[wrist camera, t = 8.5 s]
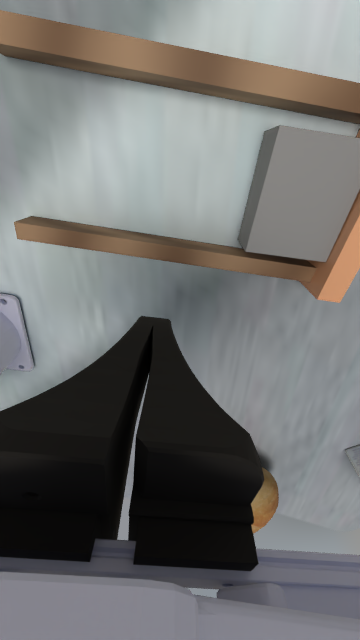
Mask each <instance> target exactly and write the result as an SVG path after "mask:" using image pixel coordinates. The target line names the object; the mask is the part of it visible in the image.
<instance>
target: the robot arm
mask: <svg viewBox="0 0 360 640" xmlns="http://www.w3.org/2000/svg"><path fill="white" fill-rule="evenodd" d="M3 299H5V300H6V301H7V302H5V301H4V300H3ZM33 368H34V363H33V359H32V354H31V350H30V346H29V341H28V337H27V333H26V329H25V324H24V320H23V316H22V312H21V307H20V303H19V300H18V299H17V298H16V297H15V296H13V295H7V294H0V375H1V374H2V372H3V371H4V370H5V369H13V370H22V371H32V369H33ZM148 374H149V379H148V384H147V389H146V394H145V398H144V403H143V408H142V412H141V417H140V421H139V426H138V430H137V434H136V445H135V463H134V482H133V490H132V496H131V503H130V509H129V538H128V541H127V540H117V537H118V529H119V524H120V517H121V511H122V504H123V498H124V492H125V486H126V479H127V473H128V467H129V461H130V455H131V449H132V443H133V437H134V431H135V425H136V420H137V416H138V412H139V408H140V404H141V401H142V397H143V393H144V390H145V386H146V382H147V378H148ZM263 482H264V475H263V470H262V465H261V462H260V459H259V456H258V453H257V451H256V448H255V446H254V443H253V441H252V438H251V436H250V434H249V433H248V432H247V431H246V430H245V429H243V428H242V427H241V426H240V425H239V424H238V423H237V422H236V421H234V420H233V419H232V418H231V417H230V416H229V415H228V414H227V413H226V412H225V411H224V410H223V409H222V408H221V407H220V406H219V405H218V404H217V403H216V402H215V401H214V399H213V398H212V397H211V396H210V395H209V394H208V392H207V391H206V390H205V389H204V388H203V386H202V385H201V384H200V382H199V381H198V379H197V378H196V377H195V375H194V374H193V372H192V371H191V369H190V367H189V366H188V364H187V362H186V360H185V359H184V357H183V355H182V353H181V351H180V349H179V346H178V344H177V342H176V339H175V337H174V334H173V331H172V327H171V321H170V320H169V319H163V318H154V317H145V316H141V317H139V318H138V320H137V321H136V322H135V324H134V325H133V326H132V327H131V328H130V330H129V331H128V332H127V333H126V334H125V335H124V336H123V337H122V338H121V339H120V340H119V341H118V342H117V343H116V344H115V345H114V346H113V347H112V348H111V349H109V350H108V351H107V352H106V353H105V354H104V355H103V356H101V357H100V358H99V359H98V360H96V361H95V362H94V363H92V364H91V365H89V366H88V367H87V368H85V369H84V370H82V371H81V372H79V373H78V374H76V375H74V376H73V377H71V378H70V379H68V380H66V381H64V382H63V383H61V384H59V385H57V386H55V387H53V388H51V389H49V390H47V391H45V392H43V393H41V394H39V395H37V396H35V397H33V398H30V399H28V400H26V401H24V402H21V403H19V404H17V405H14V406H12V407H10V408H7V409H5V410H2V411H0V640H360V555H350V554H333V553H318V552H302V551H286V550H271V549H256V547H255V542H254V536H253V531H252V526H251V525H253V523H254V516H253V511H252V506H251V503H252V501H253V500H254V498H255V497H256V495H257V494H258V492H259V490H260V489H261V487H262V485H263ZM184 587H186V588H184ZM187 588H204V589H219V591H218V592H217V598H212V597H206V596H200V595H193V594H192V593H191V591H190V590H189V589H187Z"/></svg>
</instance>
